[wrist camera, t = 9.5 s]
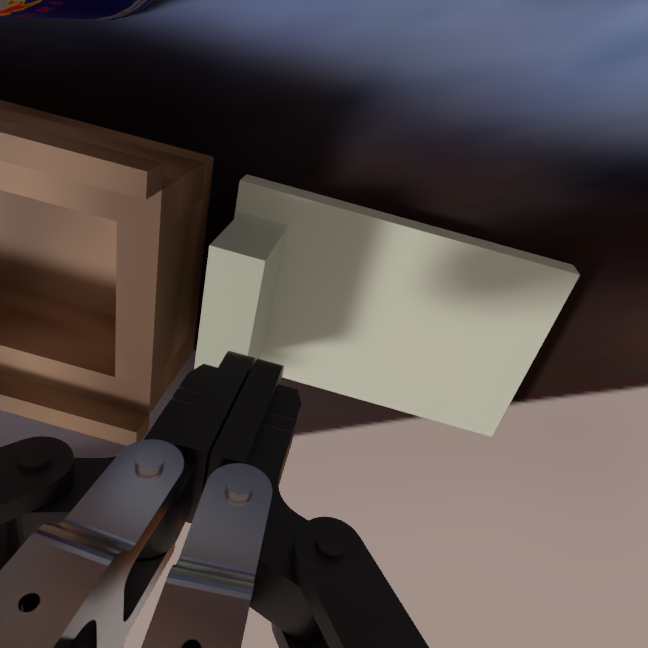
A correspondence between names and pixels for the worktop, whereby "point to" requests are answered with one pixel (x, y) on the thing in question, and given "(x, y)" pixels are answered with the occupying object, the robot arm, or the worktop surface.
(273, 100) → the worktop surface
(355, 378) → the lid
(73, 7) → the energy drink
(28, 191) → the walnut box
